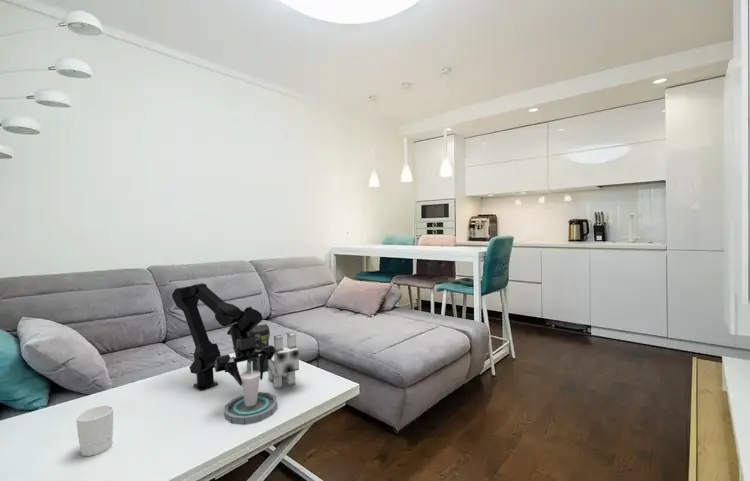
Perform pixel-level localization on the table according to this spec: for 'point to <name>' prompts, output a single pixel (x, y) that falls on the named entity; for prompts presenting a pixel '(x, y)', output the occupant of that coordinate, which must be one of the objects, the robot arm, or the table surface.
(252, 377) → the smoothie
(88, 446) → the white cup
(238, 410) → the tray
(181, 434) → the table surface
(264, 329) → the coffee jar
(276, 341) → the toy llama
